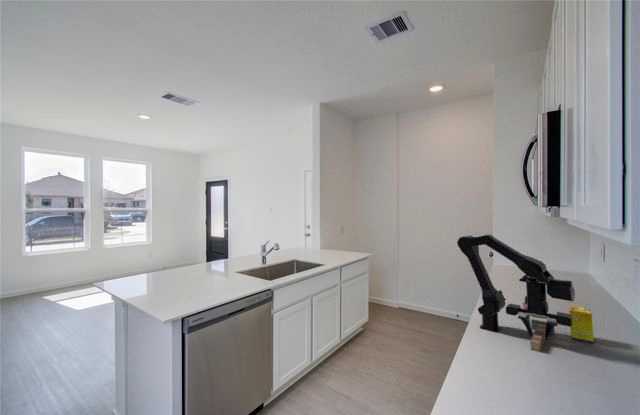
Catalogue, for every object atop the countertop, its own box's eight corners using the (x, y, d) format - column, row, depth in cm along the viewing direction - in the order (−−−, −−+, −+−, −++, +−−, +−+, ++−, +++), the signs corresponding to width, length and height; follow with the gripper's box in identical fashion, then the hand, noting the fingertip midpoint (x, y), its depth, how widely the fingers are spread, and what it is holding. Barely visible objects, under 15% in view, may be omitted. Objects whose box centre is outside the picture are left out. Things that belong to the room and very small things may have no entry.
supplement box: (569, 333, 105) (568, 305, 105) (591, 337, 101) (589, 308, 101) (571, 339, 100) (569, 309, 100) (594, 344, 96) (592, 313, 96)
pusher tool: (548, 354, 90) (547, 342, 90) (522, 347, 95) (522, 336, 95) (554, 333, 105) (554, 323, 105) (532, 328, 110) (531, 319, 110)
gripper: (571, 294, 99) (574, 337, 98) (510, 286, 112) (512, 324, 111) (570, 302, 91) (572, 349, 90) (504, 292, 104) (506, 332, 104)
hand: (538, 337), depth 99 cm, fingers open, 4 cm apart
